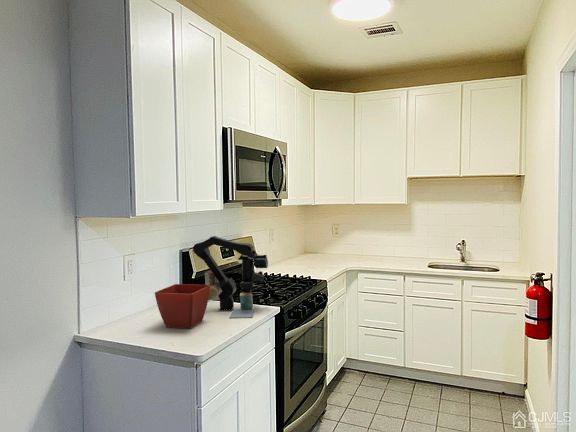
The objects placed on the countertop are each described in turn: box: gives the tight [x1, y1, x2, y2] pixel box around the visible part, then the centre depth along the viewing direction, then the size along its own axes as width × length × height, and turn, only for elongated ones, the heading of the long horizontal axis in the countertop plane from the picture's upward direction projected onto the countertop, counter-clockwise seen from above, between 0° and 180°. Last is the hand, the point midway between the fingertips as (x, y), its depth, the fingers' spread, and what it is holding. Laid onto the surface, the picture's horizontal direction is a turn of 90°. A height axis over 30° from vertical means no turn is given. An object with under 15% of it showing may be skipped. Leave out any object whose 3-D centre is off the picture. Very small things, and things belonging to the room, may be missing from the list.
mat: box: [229, 309, 255, 319], centre depth 210 cm, size 11×12×1 cm
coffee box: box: [204, 270, 224, 301], centre depth 242 cm, size 9×6×16 cm
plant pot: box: [154, 283, 210, 329], centre depth 196 cm, size 19×19×17 cm
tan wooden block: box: [239, 292, 254, 310], centre depth 217 cm, size 6×3×9 cm, turn 90°
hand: (248, 297), depth 219 cm, fingers closed
